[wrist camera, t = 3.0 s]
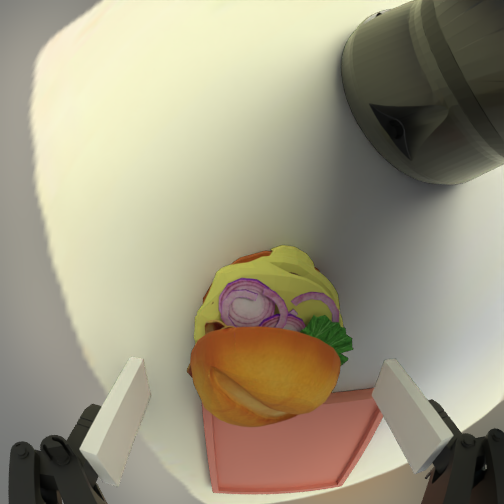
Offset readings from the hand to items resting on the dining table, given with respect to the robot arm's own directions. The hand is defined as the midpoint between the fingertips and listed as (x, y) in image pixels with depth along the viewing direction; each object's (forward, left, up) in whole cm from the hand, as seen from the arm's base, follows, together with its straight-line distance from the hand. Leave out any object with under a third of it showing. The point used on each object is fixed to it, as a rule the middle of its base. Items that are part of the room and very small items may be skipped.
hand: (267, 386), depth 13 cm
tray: (+18, +4, -7) cm, 20 cm away
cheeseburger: (0, 0, -8) cm, 8 cm away
